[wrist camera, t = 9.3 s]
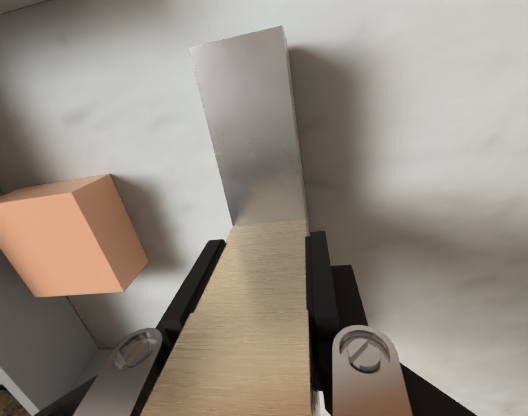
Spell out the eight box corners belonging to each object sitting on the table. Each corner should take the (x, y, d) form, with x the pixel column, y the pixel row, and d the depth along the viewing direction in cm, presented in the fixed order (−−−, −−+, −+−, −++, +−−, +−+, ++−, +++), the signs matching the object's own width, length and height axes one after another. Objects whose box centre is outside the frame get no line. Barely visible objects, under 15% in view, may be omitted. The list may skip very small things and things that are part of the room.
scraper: (287, 41, 10) (190, -255, 1) (320, 328, 17) (342, 609, 8) (216, 57, 11) (-182, -81, 2) (274, 329, 17) (245, 591, 8)
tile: (112, 172, 15) (71, 192, 12) (151, 258, 17) (123, 291, 14) (26, 186, 16) (-30, 207, 13) (74, 265, 18) (35, 297, 15)
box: (74, -42, 10) (-97, -139, 6) (216, 357, 20) (193, 435, 16) (-125, 19, 12) (-370, -18, 8) (94, 357, 22) (42, 427, 18)
